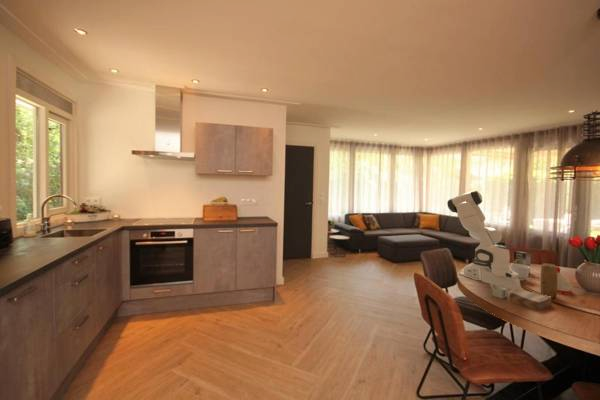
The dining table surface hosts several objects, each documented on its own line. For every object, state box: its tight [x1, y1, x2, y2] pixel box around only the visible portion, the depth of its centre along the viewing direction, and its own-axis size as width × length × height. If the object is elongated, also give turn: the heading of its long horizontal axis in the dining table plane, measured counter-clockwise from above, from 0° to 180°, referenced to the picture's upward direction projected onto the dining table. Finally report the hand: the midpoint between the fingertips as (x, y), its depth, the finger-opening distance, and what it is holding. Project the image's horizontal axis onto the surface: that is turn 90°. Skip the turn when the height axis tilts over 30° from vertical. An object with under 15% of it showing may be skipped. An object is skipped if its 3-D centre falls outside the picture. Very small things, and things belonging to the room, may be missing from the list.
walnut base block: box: [509, 289, 552, 311], centre depth 159 cm, size 14×14×5 cm
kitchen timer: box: [557, 266, 572, 294], centre depth 181 cm, size 14×14×15 cm
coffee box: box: [513, 250, 532, 274], centre depth 219 cm, size 9×6×16 cm
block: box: [540, 262, 558, 298], centre depth 170 cm, size 11×8×20 cm
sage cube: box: [492, 286, 507, 299], centre depth 170 cm, size 5×5×5 cm
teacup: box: [509, 262, 532, 281], centre depth 203 cm, size 12×15×10 cm
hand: (499, 293), depth 170 cm, fingers closed on sage cube, 5 cm apart
